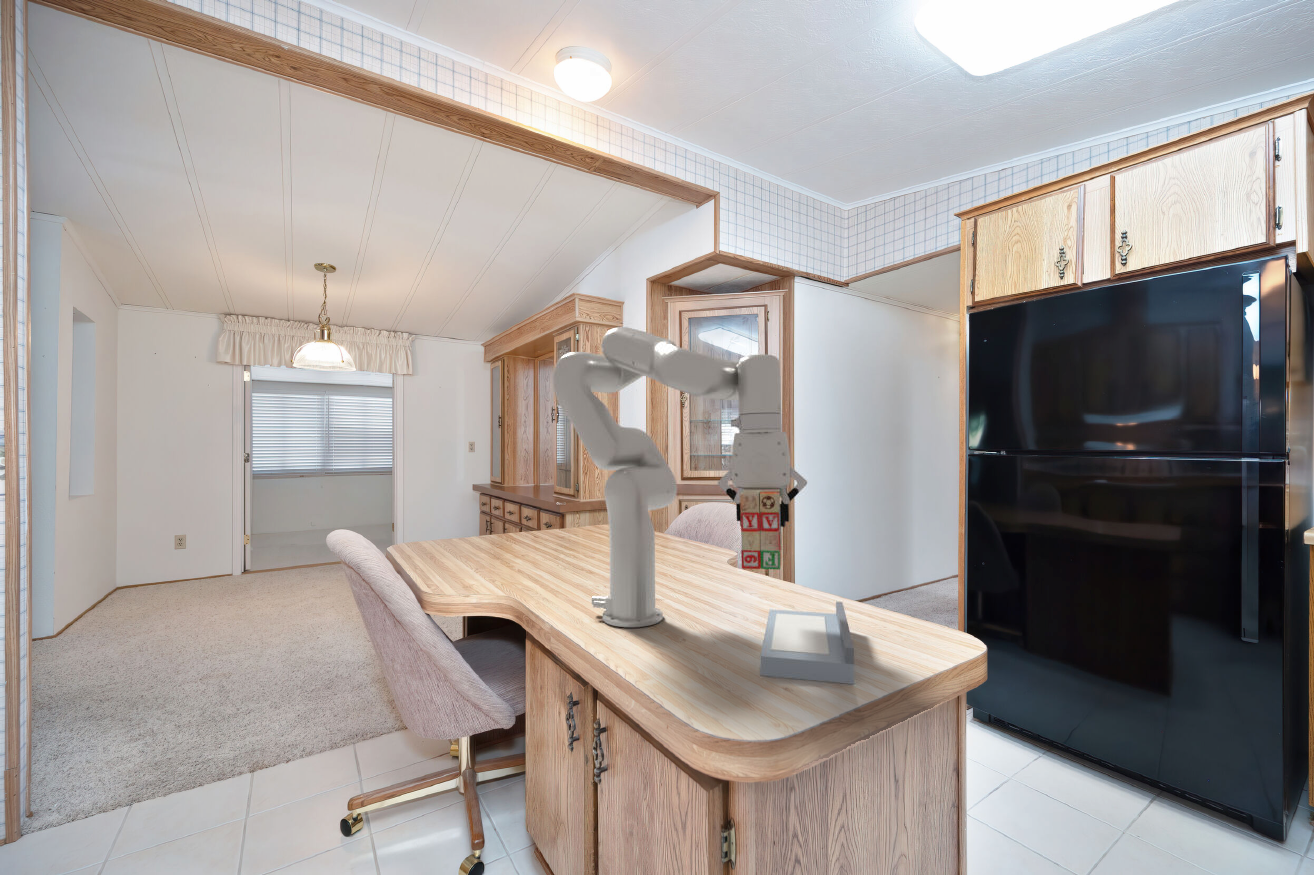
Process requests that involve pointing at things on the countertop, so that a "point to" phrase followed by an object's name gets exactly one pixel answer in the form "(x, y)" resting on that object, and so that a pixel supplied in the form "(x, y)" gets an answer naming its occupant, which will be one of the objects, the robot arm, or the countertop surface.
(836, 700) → the countertop surface
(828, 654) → the tray
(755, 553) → the stack of blocks
